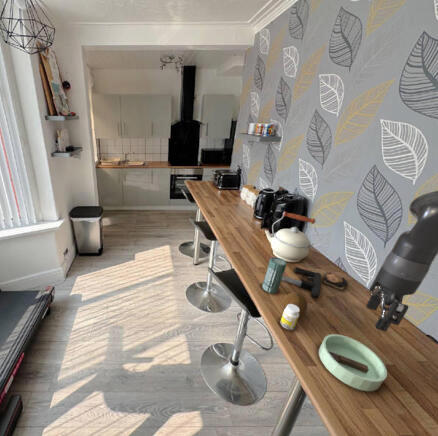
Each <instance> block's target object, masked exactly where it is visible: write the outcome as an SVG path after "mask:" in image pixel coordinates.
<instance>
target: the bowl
mask: <svg viewBox="0 0 438 436" xmlns="http://www.w3.org/2000/svg"><path fill="white" fill-rule="evenodd" d="M328 351H330V352H332V353H335V354H338V355H341V356H344V357H346V358H349V359H351V360H354V361H357V362H359V363H362V364H364V365H367V366H368V369H369V370H368V372H367V373H365V372H362V371H360V370H357V369H354V368H352V367H349V366H347V365H344V364H342V363H338V362H337V361H336V360H335V359H334V358H333V357H332V356H331V355H330V353H329V352H328ZM318 356H319V359H320V361H321V362H322V364H323V365H324V367H325V368H326V369H327V370H328V371H329V372H330V374H331V375H333V376H334V377H335V378H336V379H338V380H339V381H341V382H342V383H344V384H346V385H348V386H349V387H351V388H353V389H355V390H359V391H363V392H374V391H377V390H378V389H379V388H380V387H381V386H382V384H383V383H384V381H385V380H386V378H387V377H388V370H387V367H386V365H385V363H384V362H383V360H382V359H381V358H380V357H379V355H378V354H376V353H375V352H374V351H373V350H372V349H370V348H369V347H368V346H366V345H365V344H363V343H362V342H360V341H359V340H356V339H354V338H352V337H350V336H346V335H344V334H343V335H342V334H335V333H332V334H327V335H326V336H325V337H324V338H323V339H322V341H321V344H320V346H319V348H318Z"/></svg>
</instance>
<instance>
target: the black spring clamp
mask: <svg viewBox="0 0 438 436" xmlns="http://www.w3.org/2000/svg"><path fill="white" fill-rule="evenodd" d="M293 272H294V273H295V274H299V275H302V279H301V280H299V279H296V278H292V277H289V276H286V275H283V277H282V280H281V281H284V282H286V283H290V284H292V285H295V286H299V288H300V289H302V290H306V291H309V292H310V296H311V298H312V299H314V300H318V299H319V297H320V298H322V296H321V295H320V294H321V293H320V292H321V284H322V279H324V277H322V274H321V273H320V272H318V271H317V272H314V271H311V270H308V269H304V268H300V267H297V266H296V267H294V269H293ZM304 276H306V277H305V278H306V279H311V280H312V282H311V281H307V280H305V279H304Z"/></svg>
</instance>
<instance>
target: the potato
mask: <svg viewBox="0 0 438 436" xmlns="http://www.w3.org/2000/svg"><path fill="white" fill-rule="evenodd" d="M288 304H294V305H296V306H297V307H298V308H299V309H300V311H299V317H298V319H300V318H303V317H304V316H305V314H306V312H307V309H308V301H307V299H306V298H305V296H304V295H303V294H301V293H299V292H295V291H293V292H290V293H288V294H287V295H286V297H285V298H284V299H283V305H284V309H285V308H286V307H287V305H288Z"/></svg>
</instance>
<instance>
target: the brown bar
mask: <svg viewBox="0 0 438 436" xmlns="http://www.w3.org/2000/svg"><path fill="white" fill-rule="evenodd" d="M328 352H329V353H330V355H331V356H332V357H333V358H334V359H335V360H336V361H337V362H338V363H342V364H344V365H347V366H349V367H352V368H354V369H357V370H360V371H362V372H365V373H367V372H368V370H369V369H368V366H367V365H364V364H362V363H359V362H357V361H354V360H351V359H349V358H346V357H344V356H341V355H338V354H335V353H332V352H330V351H328Z"/></svg>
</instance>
